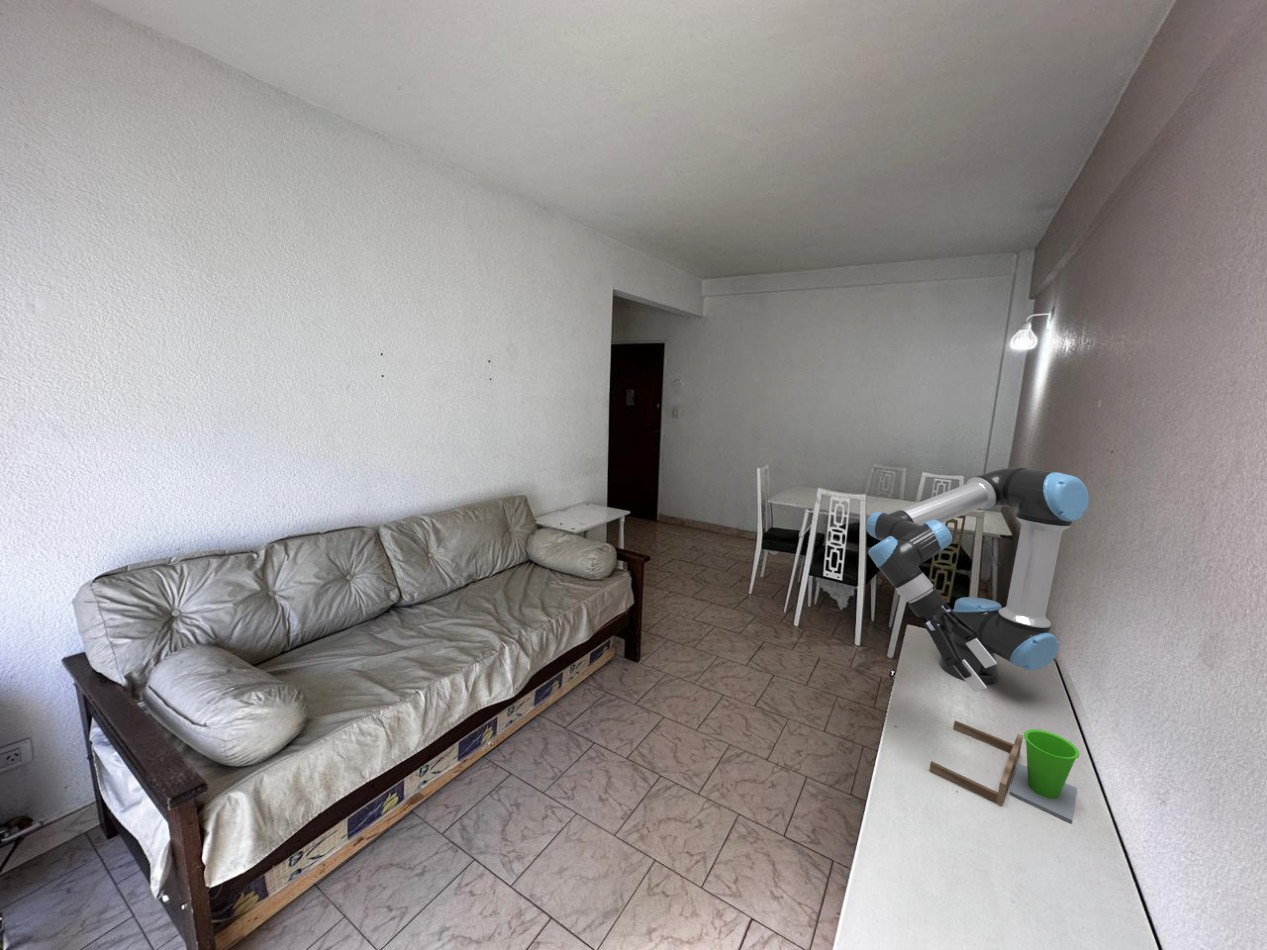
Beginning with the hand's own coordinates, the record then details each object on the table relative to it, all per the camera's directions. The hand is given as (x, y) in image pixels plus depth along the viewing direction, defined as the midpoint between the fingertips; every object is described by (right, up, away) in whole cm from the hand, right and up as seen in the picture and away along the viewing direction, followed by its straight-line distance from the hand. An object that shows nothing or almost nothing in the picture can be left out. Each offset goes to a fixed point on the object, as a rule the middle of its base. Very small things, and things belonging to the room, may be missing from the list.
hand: (986, 677), depth 114 cm
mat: (+7, -22, -7) cm, 24 cm away
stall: (-2, -20, +2) cm, 20 cm away
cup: (+7, -21, -7) cm, 24 cm away
